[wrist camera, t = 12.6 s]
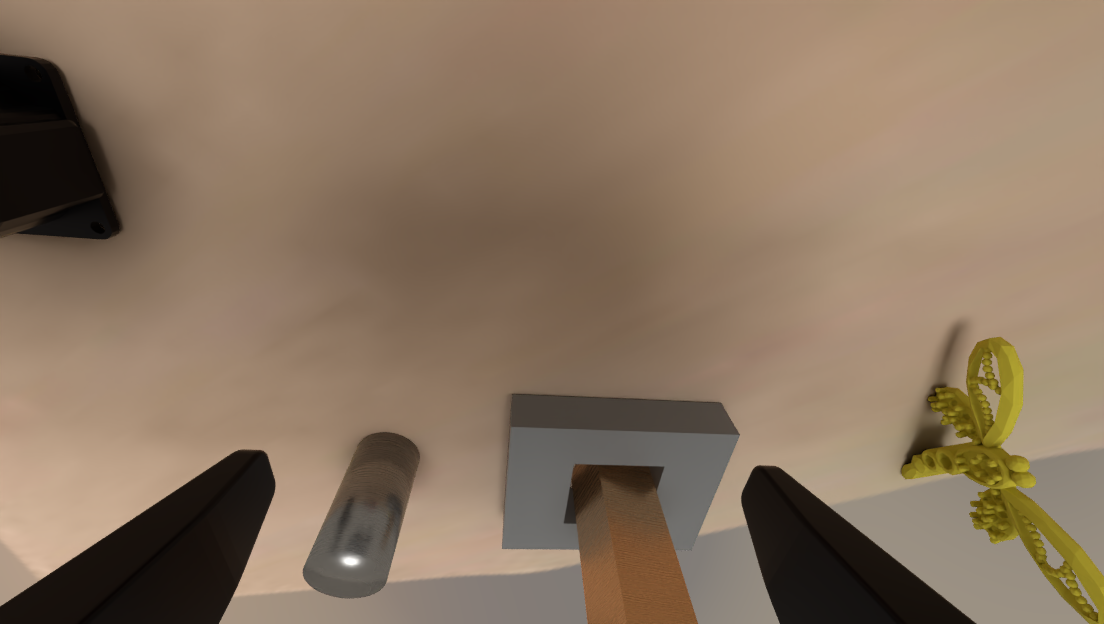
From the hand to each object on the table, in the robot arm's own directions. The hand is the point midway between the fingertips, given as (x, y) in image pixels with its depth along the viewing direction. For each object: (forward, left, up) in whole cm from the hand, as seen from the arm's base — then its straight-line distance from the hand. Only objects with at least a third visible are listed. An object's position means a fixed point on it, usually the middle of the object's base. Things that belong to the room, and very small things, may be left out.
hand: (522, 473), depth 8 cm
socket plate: (+6, -14, -13) cm, 20 cm away
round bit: (-7, -14, -13) cm, 20 cm away
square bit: (+6, -14, -13) cm, 20 cm away
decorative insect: (+26, -8, -13) cm, 30 cm away
